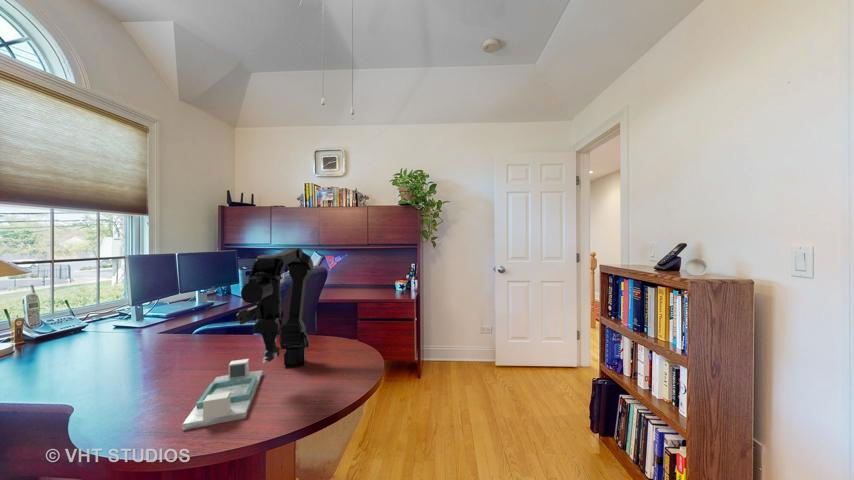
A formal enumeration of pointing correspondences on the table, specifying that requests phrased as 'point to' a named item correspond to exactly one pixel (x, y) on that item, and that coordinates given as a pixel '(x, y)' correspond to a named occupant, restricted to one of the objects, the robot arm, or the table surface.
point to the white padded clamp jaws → (222, 401)
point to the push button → (272, 352)
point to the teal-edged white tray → (240, 399)
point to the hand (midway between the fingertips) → (270, 348)
